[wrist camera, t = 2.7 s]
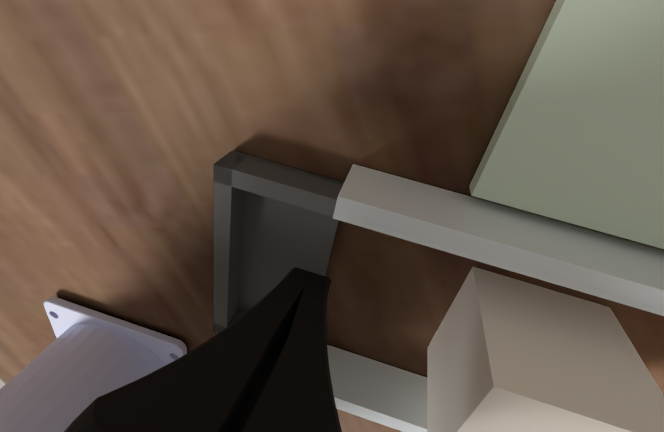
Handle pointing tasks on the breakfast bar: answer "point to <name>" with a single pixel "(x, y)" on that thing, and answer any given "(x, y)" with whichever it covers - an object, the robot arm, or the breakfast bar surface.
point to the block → (535, 364)
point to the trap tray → (266, 229)
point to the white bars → (484, 246)
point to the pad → (587, 123)
